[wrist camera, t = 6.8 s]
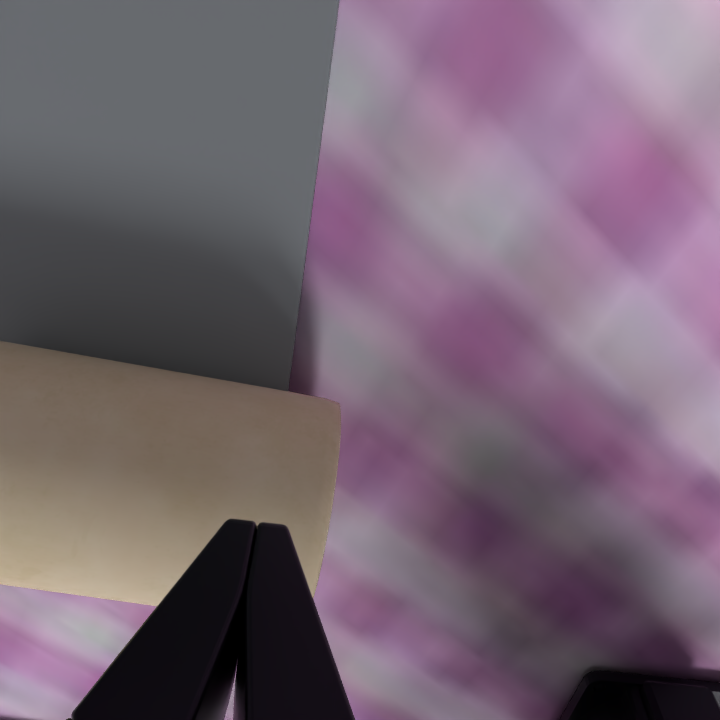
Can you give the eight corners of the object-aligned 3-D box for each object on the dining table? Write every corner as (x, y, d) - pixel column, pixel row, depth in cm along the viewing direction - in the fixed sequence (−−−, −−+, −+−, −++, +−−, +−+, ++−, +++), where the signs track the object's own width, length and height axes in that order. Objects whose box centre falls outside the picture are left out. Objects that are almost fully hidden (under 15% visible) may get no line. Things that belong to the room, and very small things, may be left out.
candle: (294, 651, 18) (-115, 596, 16) (319, 462, 21) (-20, 406, 20) (327, 583, 13) (-227, 502, 12) (352, 357, 16) (-81, 278, 15)
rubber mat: (268, 541, 23) (265, 560, 22) (-175, 490, 21) (-192, 508, 21) (370, -237, 12) (371, -246, 12) (-485, -421, 11) (-542, -445, 10)
